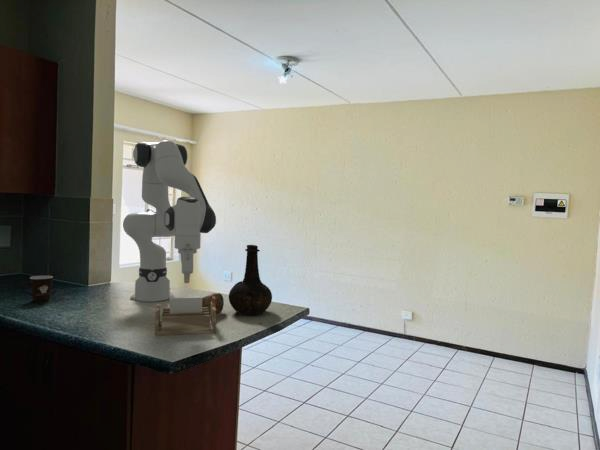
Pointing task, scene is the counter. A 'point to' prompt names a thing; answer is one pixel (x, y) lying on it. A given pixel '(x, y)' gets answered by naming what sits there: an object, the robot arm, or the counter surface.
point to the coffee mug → (40, 287)
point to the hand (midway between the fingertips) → (186, 282)
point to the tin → (218, 302)
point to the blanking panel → (186, 304)
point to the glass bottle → (250, 288)
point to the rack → (185, 321)
